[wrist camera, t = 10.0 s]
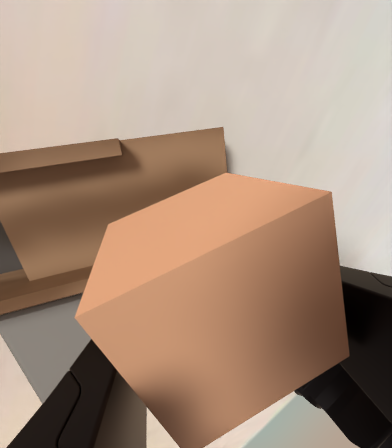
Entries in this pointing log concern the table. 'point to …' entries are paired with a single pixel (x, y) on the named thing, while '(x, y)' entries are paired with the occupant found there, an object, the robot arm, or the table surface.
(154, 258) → the block
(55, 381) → the mat
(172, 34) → the table surface
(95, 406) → the robot arm
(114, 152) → the divided wooden tray
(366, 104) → the table surface
